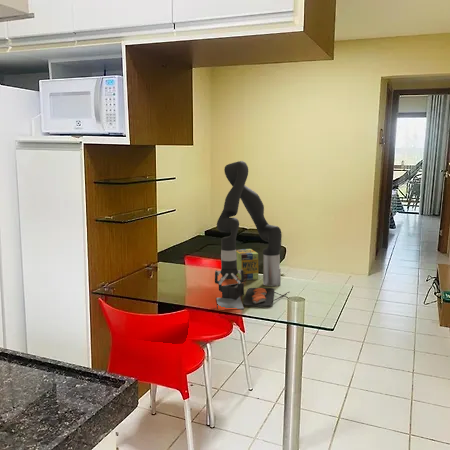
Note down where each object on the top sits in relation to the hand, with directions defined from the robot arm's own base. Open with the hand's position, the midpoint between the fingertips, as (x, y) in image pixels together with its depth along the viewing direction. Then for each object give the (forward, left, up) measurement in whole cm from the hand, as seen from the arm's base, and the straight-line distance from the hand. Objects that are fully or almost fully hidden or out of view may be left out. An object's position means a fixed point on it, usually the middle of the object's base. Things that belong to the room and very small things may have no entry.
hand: (229, 291), depth 224 cm
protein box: (-14, -49, -7) cm, 51 cm away
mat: (0, 0, -6) cm, 6 cm away
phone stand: (0, -6, -3) cm, 7 cm away
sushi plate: (-23, -5, -7) cm, 25 cm away
